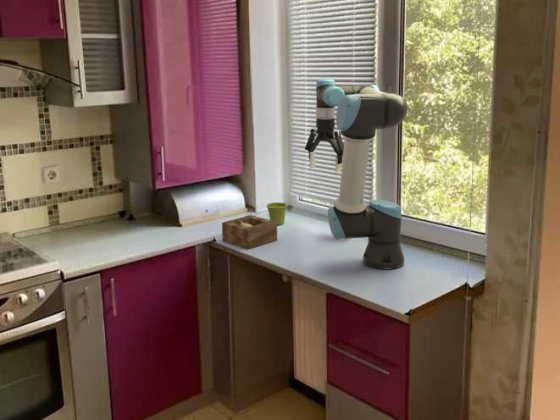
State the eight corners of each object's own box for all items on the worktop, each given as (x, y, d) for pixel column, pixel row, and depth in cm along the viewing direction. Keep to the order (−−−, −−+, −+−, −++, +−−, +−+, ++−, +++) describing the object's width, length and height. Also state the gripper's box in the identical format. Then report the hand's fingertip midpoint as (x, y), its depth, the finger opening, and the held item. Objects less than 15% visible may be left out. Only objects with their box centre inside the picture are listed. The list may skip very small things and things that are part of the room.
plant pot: (280, 227, 286) (280, 208, 284) (262, 224, 291) (262, 205, 288) (291, 222, 294) (291, 204, 291) (273, 219, 298) (273, 201, 296)
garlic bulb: (245, 235, 272) (244, 216, 270) (258, 237, 269) (257, 218, 267) (236, 239, 266) (235, 220, 264) (249, 241, 263) (249, 222, 261)
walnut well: (277, 240, 268) (276, 222, 266) (248, 249, 257) (248, 230, 255) (250, 232, 279) (250, 214, 276) (222, 241, 268) (221, 222, 265)
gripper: (355, 119, 256) (354, 171, 261) (308, 114, 272) (308, 164, 278) (344, 121, 250) (343, 174, 256) (296, 116, 267) (296, 167, 272)
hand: (325, 169), depth 267 cm, fingers open, 13 cm apart
